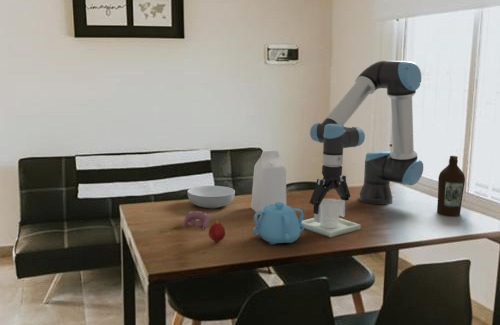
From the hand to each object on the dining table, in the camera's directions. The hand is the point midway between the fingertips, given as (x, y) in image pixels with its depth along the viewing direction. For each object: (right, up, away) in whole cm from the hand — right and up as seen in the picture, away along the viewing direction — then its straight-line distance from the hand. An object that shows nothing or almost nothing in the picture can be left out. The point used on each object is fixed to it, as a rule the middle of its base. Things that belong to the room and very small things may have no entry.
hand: (329, 218), depth 210 cm
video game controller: (-51, -3, -2) cm, 51 cm away
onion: (-42, -7, -19) cm, 47 cm away
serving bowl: (-48, +3, +28) cm, 56 cm away
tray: (0, -3, +1) cm, 4 cm away
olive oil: (+55, 0, +24) cm, 60 cm away
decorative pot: (-21, -6, -14) cm, 26 cm away
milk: (-23, +1, +23) cm, 32 cm away
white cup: (0, -3, +1) cm, 3 cm away
